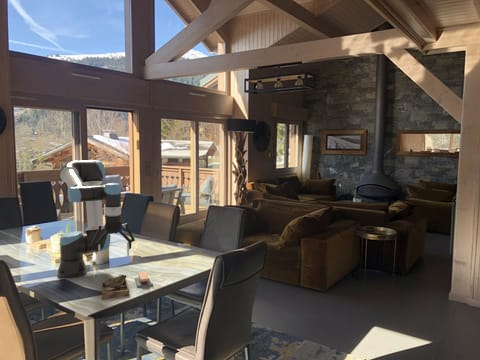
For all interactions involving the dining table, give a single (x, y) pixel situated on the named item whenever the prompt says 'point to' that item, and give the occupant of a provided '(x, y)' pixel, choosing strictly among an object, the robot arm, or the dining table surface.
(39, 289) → the dining table surface
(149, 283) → the checker base
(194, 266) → the dining table surface
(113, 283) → the rock
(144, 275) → the checker pad
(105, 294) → the tray
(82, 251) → the robot arm
